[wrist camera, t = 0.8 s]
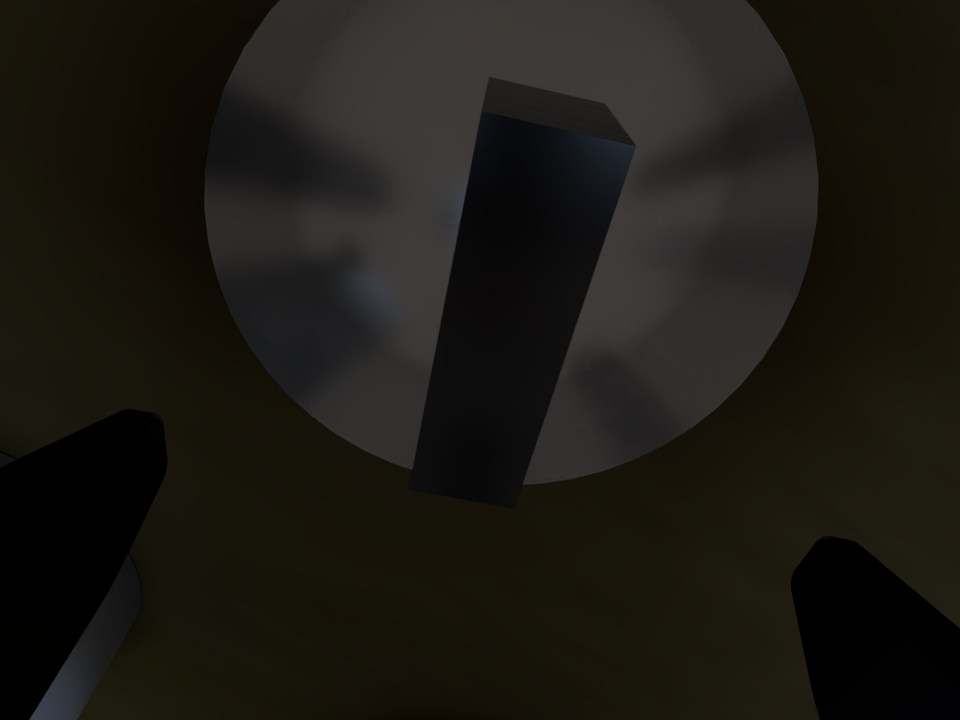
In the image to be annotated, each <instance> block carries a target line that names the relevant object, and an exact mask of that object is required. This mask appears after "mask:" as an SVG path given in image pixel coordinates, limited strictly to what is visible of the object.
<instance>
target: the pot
mask: <svg viewBox="0 0 960 720" xmlns="http://www.w3.org/2000/svg"><path fill="white" fill-rule="evenodd" d="M15 460H16V459H14V458H11V457H9V456H7V455H5V454H3V453H1V452H0V467H2V466H4V465H6V464H8V463H11V462H13V461H15ZM140 603H141V586H140V582H139V578H138V574H137V571H136V569H135V566H134V564H133V562H132V560H131V558H130V556H129V554H128V555H127V557H126V559H125V561H124V563H123V565H122V567H121V569H120V571H119V573H118V575H117V577H116V579H115V581H114V583H113V585H112V587H111V588H110V590H109V592H108V593H107V595H106V597H105V599H104V600H103V602H102V604H101V605H100V607H99V609H98V610H97V612H96V613H95V615H94V617H93V618H92V620H91V621H90V623H89V625H88V626H87V628H86V630H85V631H84V633H83V634H82V636H81V638H80V639H79V641H78V642H77V644H76V646H75V647H74V649H73V651H72V652H71V654H70V655H69V657H68V659H67V660H66V662H65V663H64V665H63V667H62V668H61V670H60V672H59V673H58V675H57V676H56V678H55V680H54V681H53V683H52V684H51V686H50V688H49V689H48V691H47V692H46V694H45V696H44V697H43V699H42V701H41V702H40V704H39V705H38V707H37V709H36V710H35V712H34V713H33V715H32V717H31V718H30V720H77V719H78V717H79V715H80V713H81V712H82V710H83V708H84V707H85V705H86V703H87V702H88V700H89V698H90V696H91V695H92V693H93V691H94V690H95V688H96V686H97V684H98V683H99V681H100V679H101V678H102V676H103V674H104V672H105V671H106V669H107V667H108V666H109V664H110V662H111V660H112V659H113V657H114V655H115V654H116V652H117V650H118V649H119V647H120V645H121V643H122V642H123V640H124V638H125V637H126V635H127V633H128V631H129V630H130V628H131V626H132V625H133V623H134V621H135V619H136V617H137V614H138V612H139V609H140Z"/></svg>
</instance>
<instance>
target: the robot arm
mask: <svg viewBox="0 0 960 720" xmlns="http://www.w3.org/2000/svg"><path fill="white" fill-rule="evenodd" d="M166 470H167V451H166V442H165V433H164V425H163V420H162V419H161V417H160V416H159V415H157V414H155V413H150V412H144V411H139V410H133V409H126V410H122V411H120V412H117V413H115V414H113V415H111V416H109V417H107V418H105V419H102V420H100V421H98V422H96V423H94V424H92V425H90V426H87V427H85V428H83V429H81V430H79V431H77V432H75V433H73V434H70V435H68V436H66V437H64V438H62V439H60V440H58V441H55V442H53V443H51V444H49V445H47V446H45V447H43V448H40V449H38V450H36V451H34V452H32V453H30V454H28V455H26V456H23V457H21V458H19V459H17V460H15V461H13V462H11V463H8V464H6V465H4V466H2V467H0V720H30V718H31V717H32V715H33V713H34V712H35V710H36V709H37V707H38V705H39V704H40V702H41V701H42V699H43V697H44V696H45V694H46V692H47V691H48V689H49V688H50V686H51V684H52V683H53V681H54V680H55V678H56V676H57V675H58V673H59V672H60V670H61V668H62V667H63V665H64V663H65V662H66V660H67V659H68V657H69V655H70V654H71V652H72V651H73V649H74V647H75V646H76V644H77V642H78V641H79V639H80V638H81V636H82V634H83V633H84V631H85V630H86V628H87V626H88V625H89V623H90V621H91V620H92V618H93V617H94V615H95V613H96V612H97V610H98V609H99V607H100V605H101V604H102V602H103V600H104V599H105V597H106V595H107V593H108V592H109V590H110V588H111V587H112V585H113V583H114V581H115V579H116V577H117V575H118V573H119V571H120V569H121V567H122V565H123V563H124V561H125V559H126V557H127V555H128V553H129V550H130V548H131V546H132V544H133V542H134V540H135V538H136V536H137V534H138V532H139V530H140V527H141V525H142V523H143V521H144V519H145V517H146V515H147V513H148V511H149V509H150V507H151V504H152V502H153V500H154V498H155V496H156V494H157V492H158V490H159V488H160V486H161V484H162V481H163V479H164V477H165V474H166ZM791 591H792V596H793V601H794V606H795V611H796V616H797V620H798V625H799V630H800V635H801V640H802V645H803V650H804V655H805V660H806V665H807V669H808V674H809V679H810V684H811V688H812V692H813V696H814V700H815V704H816V708H817V711H818V715H819V718H820V720H960V628H959V627H957V626H956V625H955V624H954V623H953V622H951V621H950V620H949V619H948V618H947V617H945V616H944V615H943V614H942V613H941V612H939V611H938V610H937V609H936V608H935V607H933V606H932V605H931V604H930V603H929V602H928V601H926V600H925V599H924V598H923V597H922V596H920V595H919V594H918V593H917V592H916V591H914V590H913V589H912V588H911V587H910V586H908V585H907V584H906V583H905V582H904V581H902V580H901V579H900V578H899V577H898V576H896V575H895V574H894V573H893V572H892V571H890V570H889V569H888V568H887V567H886V566H884V565H883V564H882V563H881V562H880V561H878V560H877V559H876V558H875V557H874V556H873V555H871V554H870V553H869V552H868V551H867V550H865V549H864V548H863V547H862V546H861V545H859V544H858V543H856V542H854V541H852V540H848V539H842V538H837V537H831V536H824V537H822V538H820V539H818V540H817V541H816V543H815V544H814V545H813V546H812V548H811V549H810V550H809V552H808V553H807V554H806V556H805V557H804V558H803V560H802V561H801V562H800V564H799V565H798V566H797V568H796V569H795V570H794V572H793V575H792V579H791Z"/></svg>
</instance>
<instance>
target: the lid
mask: <svg viewBox="0 0 960 720" xmlns="http://www.w3.org/2000/svg"><path fill="white" fill-rule="evenodd" d="M817 205H818V170H817V161H816V151H815V142H814V136H813V132H812V128H811V124H810V121H809V117H808V113H807V109H806V106H805V102H804V98H803V95H802V92H801V90H800V88H799V86H798V83H797V81H796V79H795V77H794V74H793V72H792V70H791V68H790V65H789V63H788V61H787V59H786V56H785V54H784V53H783V51H782V49H781V48H780V46H779V45H778V43H777V42H776V40H775V39H774V37H773V36H772V34H771V33H770V31H769V30H768V28H767V26H766V25H765V23H764V22H763V20H762V19H761V17H760V16H759V14H758V13H757V12H756V11H755V10H754V9H753V8H752V7H751V6H750V5H749V3H748V2H747V1H746V0H280V1H279V2H278V3H277V4H276V5H275V6H274V7H273V8H272V9H271V10H270V11H269V13H268V14H267V16H266V17H265V19H264V20H263V21H262V23H261V24H260V26H259V27H258V29H257V30H256V31H255V33H254V34H253V36H252V37H251V39H250V40H249V42H248V43H247V44H246V46H245V47H244V49H243V51H242V53H241V55H240V57H239V59H238V61H237V63H236V65H235V67H234V69H233V71H232V73H231V75H230V77H229V79H228V81H227V83H226V86H225V88H224V90H223V94H222V97H221V100H220V103H219V106H218V109H217V113H216V116H215V119H214V122H213V125H212V129H211V135H210V141H209V147H208V153H207V160H206V166H205V198H204V209H205V218H206V226H207V234H208V243H209V248H210V252H211V256H212V260H213V264H214V268H215V272H216V275H217V279H218V282H219V285H220V287H221V290H222V292H223V295H224V297H225V300H226V303H227V305H228V308H229V310H230V313H231V315H232V316H233V318H234V320H235V322H236V324H237V326H238V327H239V329H240V331H241V333H242V335H243V337H244V339H245V340H246V342H247V344H248V345H249V347H250V348H251V350H252V351H253V352H254V354H255V355H256V357H257V358H258V359H259V361H260V362H261V364H262V365H263V366H264V368H265V369H266V371H267V372H268V373H269V374H270V375H271V376H272V377H273V379H274V380H275V381H276V382H277V383H278V384H279V385H280V386H281V388H282V389H283V390H284V391H285V392H286V393H287V394H288V395H289V396H290V397H291V398H292V399H293V400H294V401H295V402H297V403H298V404H299V405H300V406H301V407H302V408H303V409H304V410H305V411H307V412H308V413H309V414H310V415H311V416H312V417H313V418H315V419H316V420H318V421H319V422H320V423H322V424H323V425H325V426H326V427H327V428H329V429H330V430H331V431H333V432H334V433H336V434H337V435H338V436H340V437H342V438H344V439H345V440H347V441H349V442H351V443H352V444H354V445H356V446H358V447H359V448H361V449H363V450H364V451H367V452H369V453H371V454H373V455H375V456H378V457H380V458H382V459H384V460H387V461H389V462H391V463H393V464H396V465H399V466H402V467H405V468H408V469H411V470H412V474H411V479H410V485H409V490H414V491H420V492H425V493H431V494H437V495H442V496H448V497H453V498H459V499H465V500H470V501H476V502H481V503H487V504H493V505H498V506H504V507H509V508H515V506H516V503H517V500H518V497H519V494H520V491H521V488H522V485H523V484H540V483H548V482H555V481H561V480H568V479H574V478H578V477H582V476H586V475H589V474H593V473H597V472H601V471H605V470H607V469H610V468H613V467H616V466H618V465H621V464H624V463H627V462H629V461H632V460H634V459H637V458H639V457H641V456H643V455H645V454H647V453H649V452H651V451H653V450H655V449H657V448H659V447H661V446H663V445H665V444H666V443H668V442H670V441H671V440H673V439H675V438H676V437H678V436H679V435H681V434H683V433H684V432H686V431H687V430H689V429H691V428H692V427H693V426H694V425H696V424H697V423H698V422H700V421H701V420H702V419H703V418H705V417H706V416H707V415H709V414H710V413H711V412H713V411H714V410H715V409H716V408H717V407H718V406H720V405H721V404H722V403H723V402H724V401H725V400H726V399H727V398H728V397H729V396H730V395H731V394H732V393H733V392H734V391H735V390H736V389H737V388H738V387H739V386H740V385H741V384H742V383H743V382H744V380H745V379H746V378H747V377H748V376H749V374H750V373H751V372H752V371H753V369H754V368H755V367H756V366H757V365H758V363H759V362H760V361H761V360H762V358H763V357H764V356H765V354H766V352H767V351H768V349H769V348H770V346H771V345H772V343H773V341H774V340H775V338H776V337H777V335H778V334H779V332H780V331H781V329H782V327H783V325H784V323H785V321H786V319H787V317H788V315H789V313H790V311H791V308H792V306H793V304H794V302H795V300H796V298H797V296H798V293H799V290H800V287H801V284H802V281H803V278H804V275H805V272H806V269H807V266H808V263H809V260H810V255H811V250H812V244H813V239H814V233H815V228H816V222H817Z"/></svg>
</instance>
